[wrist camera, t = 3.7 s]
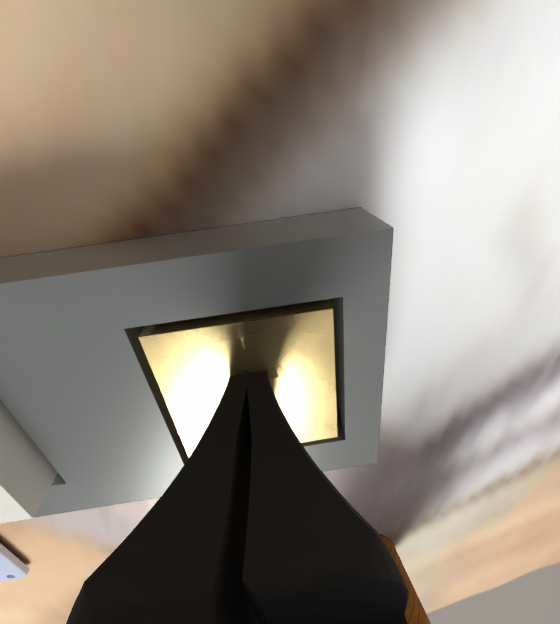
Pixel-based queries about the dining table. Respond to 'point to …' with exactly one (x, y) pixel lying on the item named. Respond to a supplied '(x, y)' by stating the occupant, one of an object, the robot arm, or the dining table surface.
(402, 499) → the dining table surface
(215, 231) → the panel
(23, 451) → the white button
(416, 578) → the dining table surface
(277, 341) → the brass button
